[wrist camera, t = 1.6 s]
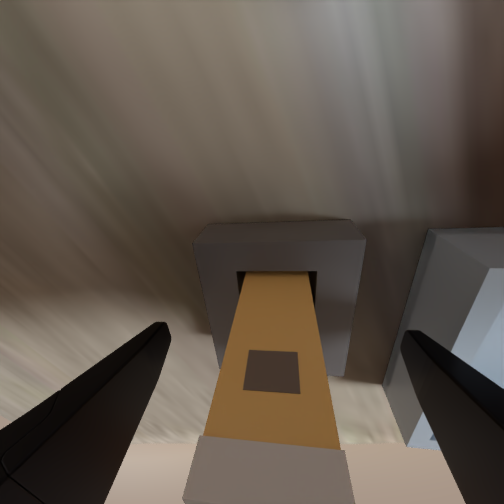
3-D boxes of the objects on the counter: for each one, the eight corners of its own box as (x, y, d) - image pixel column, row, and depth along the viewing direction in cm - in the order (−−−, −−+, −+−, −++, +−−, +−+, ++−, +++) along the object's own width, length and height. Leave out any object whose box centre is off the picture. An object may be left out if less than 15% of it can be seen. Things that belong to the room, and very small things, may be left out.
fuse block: (350, 219, 9) (366, 239, 7) (334, 341, 12) (343, 376, 11) (208, 224, 10) (192, 243, 8) (228, 337, 13) (219, 368, 11)
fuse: (305, 251, 10) (359, 523, 3) (303, 320, 12) (332, 589, 5) (250, 252, 10) (182, 498, 3) (255, 319, 12) (220, 568, 5)
